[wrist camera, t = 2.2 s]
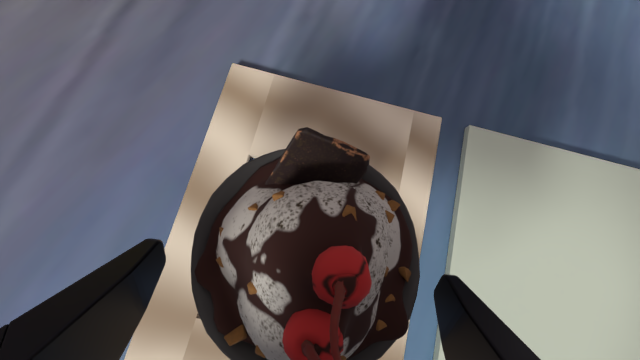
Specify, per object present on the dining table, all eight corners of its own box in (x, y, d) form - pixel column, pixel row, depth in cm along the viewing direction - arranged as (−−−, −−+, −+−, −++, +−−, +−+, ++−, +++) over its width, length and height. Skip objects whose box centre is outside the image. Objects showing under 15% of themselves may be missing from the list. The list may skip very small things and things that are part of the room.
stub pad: (677, 515, 16) (691, 526, 16) (420, 452, 16) (424, 460, 16) (664, 180, 21) (675, 178, 20) (464, 128, 21) (469, 124, 20)
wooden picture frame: (385, 443, 16) (388, 451, 16) (122, 378, 16) (115, 383, 15) (437, 121, 21) (441, 117, 20) (234, 68, 21) (232, 63, 20)
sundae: (307, 332, 17) (354, 841, 2) (227, 253, 18) (-104, 291, 3) (378, 247, 18) (672, 255, 4) (301, 177, 19) (305, -42, 5)
